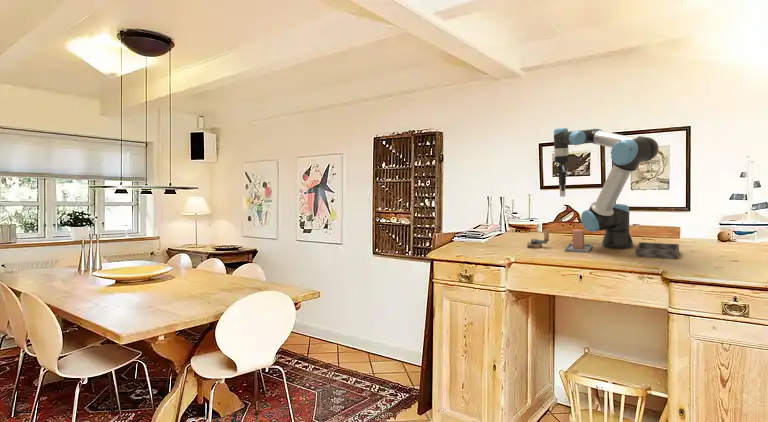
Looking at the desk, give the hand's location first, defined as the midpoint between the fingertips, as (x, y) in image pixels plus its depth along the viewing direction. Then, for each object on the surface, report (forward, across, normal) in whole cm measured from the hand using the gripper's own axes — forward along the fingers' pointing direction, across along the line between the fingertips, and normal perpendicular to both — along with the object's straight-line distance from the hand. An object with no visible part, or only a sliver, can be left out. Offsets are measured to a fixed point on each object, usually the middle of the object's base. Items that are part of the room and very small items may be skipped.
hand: (562, 196), depth 278 cm
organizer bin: (+26, +37, +38) cm, 59 cm away
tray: (+26, +21, +4) cm, 34 cm away
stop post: (+26, +21, +4) cm, 34 cm away
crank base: (+26, +12, -18) cm, 34 cm away
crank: (+24, +13, -15) cm, 31 cm away
